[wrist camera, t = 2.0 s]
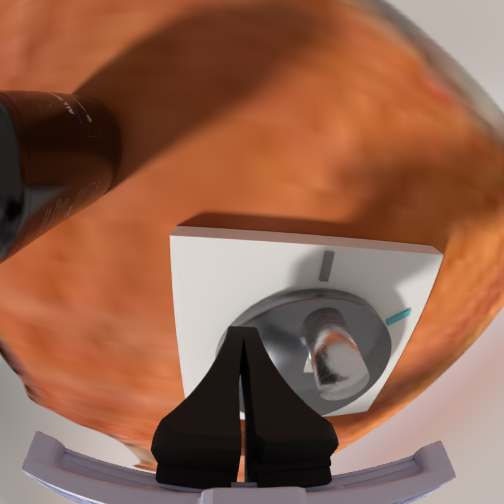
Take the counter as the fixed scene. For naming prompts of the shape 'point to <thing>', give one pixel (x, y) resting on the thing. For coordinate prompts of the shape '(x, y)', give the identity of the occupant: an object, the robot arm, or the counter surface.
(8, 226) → the supplement bottle
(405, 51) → the counter surface
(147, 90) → the counter surface
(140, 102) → the counter surface
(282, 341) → the dial
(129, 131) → the counter surface
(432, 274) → the dial plate
